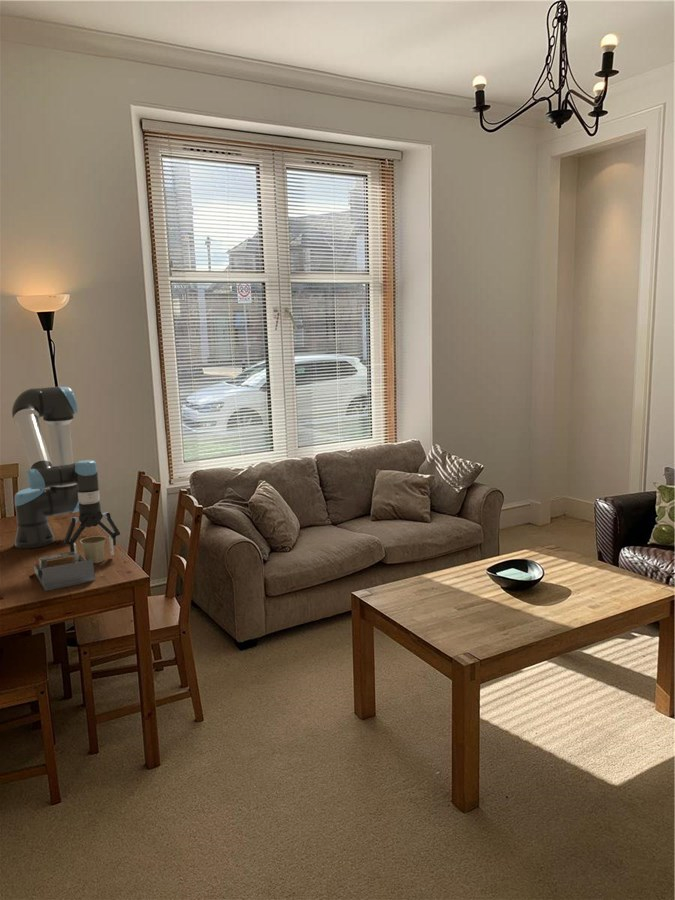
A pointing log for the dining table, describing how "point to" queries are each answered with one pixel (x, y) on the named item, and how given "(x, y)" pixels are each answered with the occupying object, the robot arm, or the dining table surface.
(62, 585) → the grey open box
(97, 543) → the flower pot
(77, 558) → the block
